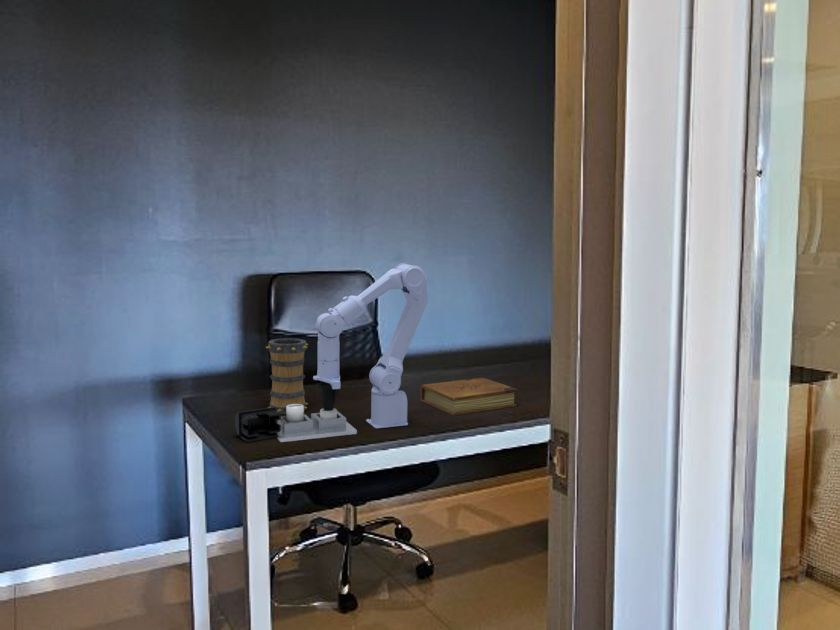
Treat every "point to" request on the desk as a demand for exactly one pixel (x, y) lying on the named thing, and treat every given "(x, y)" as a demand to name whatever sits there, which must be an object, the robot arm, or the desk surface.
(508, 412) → the desk surface
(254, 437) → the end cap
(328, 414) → the knob
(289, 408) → the knob
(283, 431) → the mount
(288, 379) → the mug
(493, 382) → the diary
